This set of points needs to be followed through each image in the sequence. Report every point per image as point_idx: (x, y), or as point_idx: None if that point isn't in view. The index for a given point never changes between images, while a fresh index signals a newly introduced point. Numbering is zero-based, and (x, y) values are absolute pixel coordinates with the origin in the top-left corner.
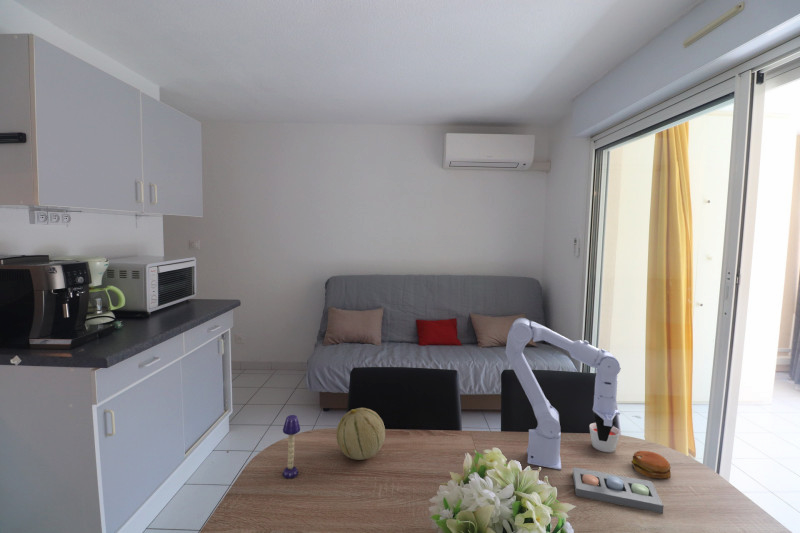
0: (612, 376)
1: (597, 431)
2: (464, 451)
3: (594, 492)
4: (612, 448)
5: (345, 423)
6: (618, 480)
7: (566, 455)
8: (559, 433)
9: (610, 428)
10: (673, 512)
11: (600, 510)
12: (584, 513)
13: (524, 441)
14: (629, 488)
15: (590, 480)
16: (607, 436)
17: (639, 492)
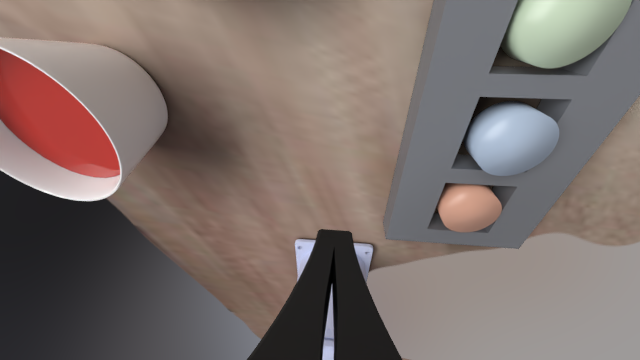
0: None
1: (327, 313)
2: None
3: (547, 209)
4: (132, 72)
5: None
6: (518, 133)
7: (275, 221)
8: (333, 349)
9: (397, 356)
10: None
11: (597, 187)
12: (599, 225)
13: (251, 286)
14: (543, 78)
15: (485, 216)
16: (357, 265)
17: (607, 34)
